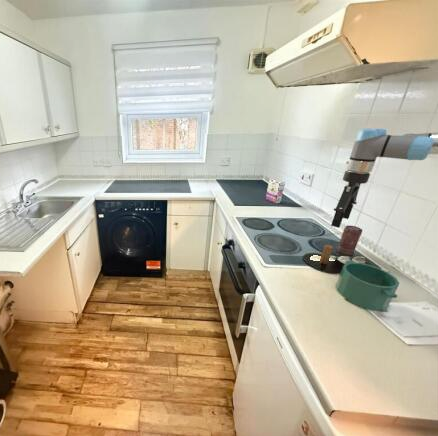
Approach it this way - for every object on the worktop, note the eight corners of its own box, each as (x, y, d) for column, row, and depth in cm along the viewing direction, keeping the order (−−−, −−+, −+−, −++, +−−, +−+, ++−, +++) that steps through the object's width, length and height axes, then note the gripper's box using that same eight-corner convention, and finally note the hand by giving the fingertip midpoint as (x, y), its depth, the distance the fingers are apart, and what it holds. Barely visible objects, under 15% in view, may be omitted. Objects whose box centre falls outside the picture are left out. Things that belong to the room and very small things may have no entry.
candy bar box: (280, 203, 180) (285, 182, 174) (275, 204, 179) (280, 182, 173) (270, 199, 190) (274, 179, 184) (264, 199, 189) (268, 179, 183)
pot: (361, 279, 95) (370, 259, 91) (407, 318, 77) (420, 295, 73) (323, 277, 96) (330, 257, 93) (358, 314, 78) (368, 291, 74)
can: (355, 258, 109) (365, 231, 104) (338, 256, 111) (348, 229, 106) (349, 252, 114) (359, 226, 109) (334, 250, 116) (343, 224, 111)
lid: (330, 256, 111) (336, 238, 108) (354, 276, 97) (361, 257, 94) (296, 254, 113) (300, 237, 109) (313, 274, 99) (320, 255, 95)
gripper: (353, 166, 101) (337, 212, 109) (336, 174, 86) (319, 227, 94) (377, 168, 95) (358, 217, 104) (363, 178, 81) (342, 233, 89)
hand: (339, 222), depth 99 cm, fingers open, 13 cm apart
